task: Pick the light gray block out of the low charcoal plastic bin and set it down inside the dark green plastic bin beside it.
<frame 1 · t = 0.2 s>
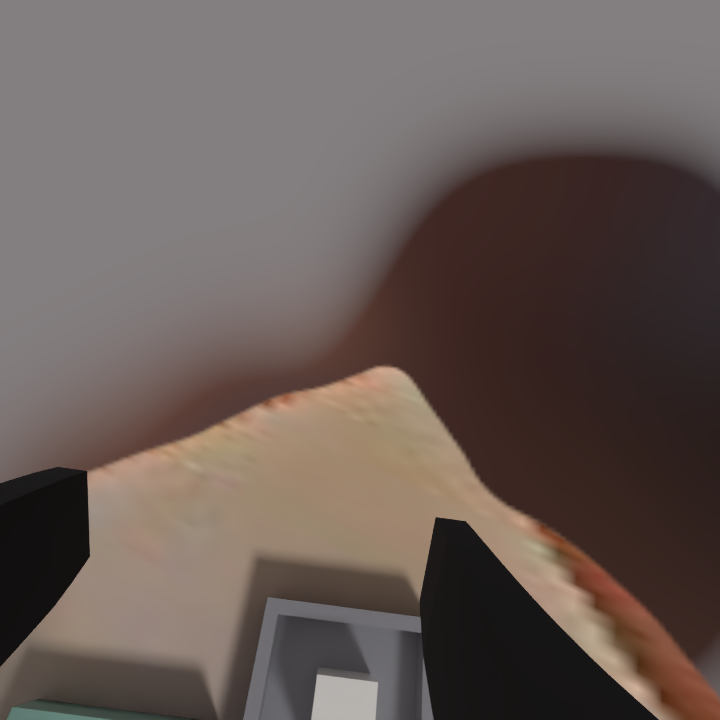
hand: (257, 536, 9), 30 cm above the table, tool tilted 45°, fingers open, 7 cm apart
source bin: (339, 710, 31), on the table
light gray block: (339, 713, 30), point 1 cm above the table, touching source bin
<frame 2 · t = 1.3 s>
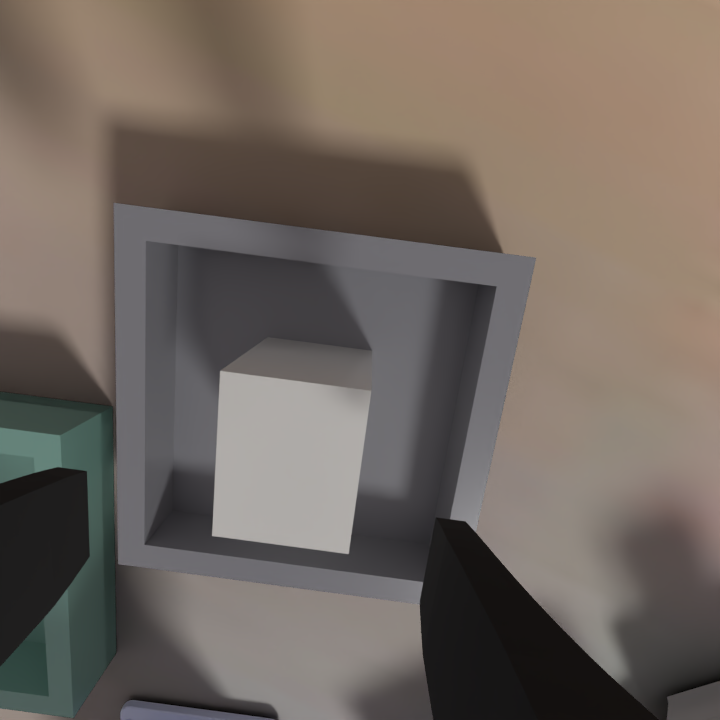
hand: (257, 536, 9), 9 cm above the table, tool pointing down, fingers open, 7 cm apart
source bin: (316, 399, 17), on the table
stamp: (715, 703, 20), on the table
light gray block: (313, 405, 16), point 1 cm above the table, touching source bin
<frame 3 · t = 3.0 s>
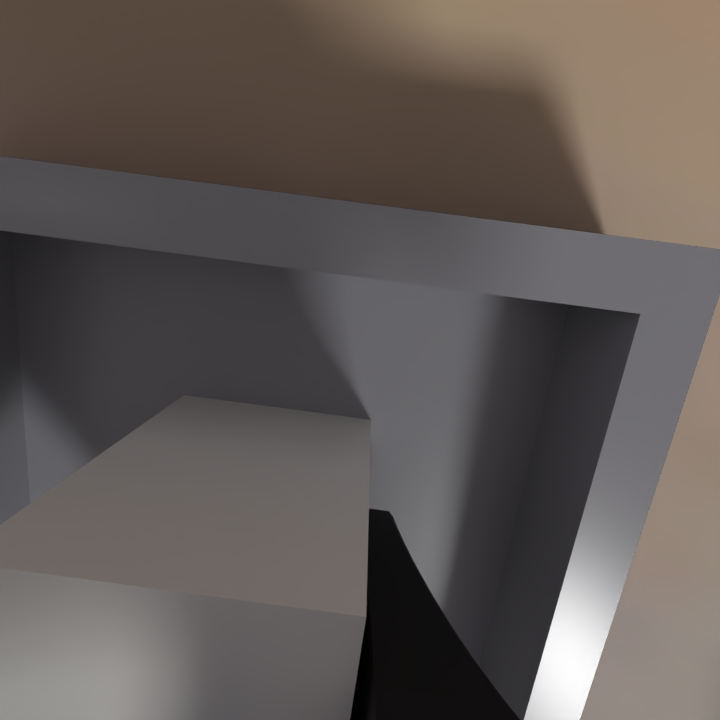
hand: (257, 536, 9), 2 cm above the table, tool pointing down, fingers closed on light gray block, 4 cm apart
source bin: (276, 491, 10), on the table
light gray block: (268, 511, 9), point 1 cm above the table, touching gripper, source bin
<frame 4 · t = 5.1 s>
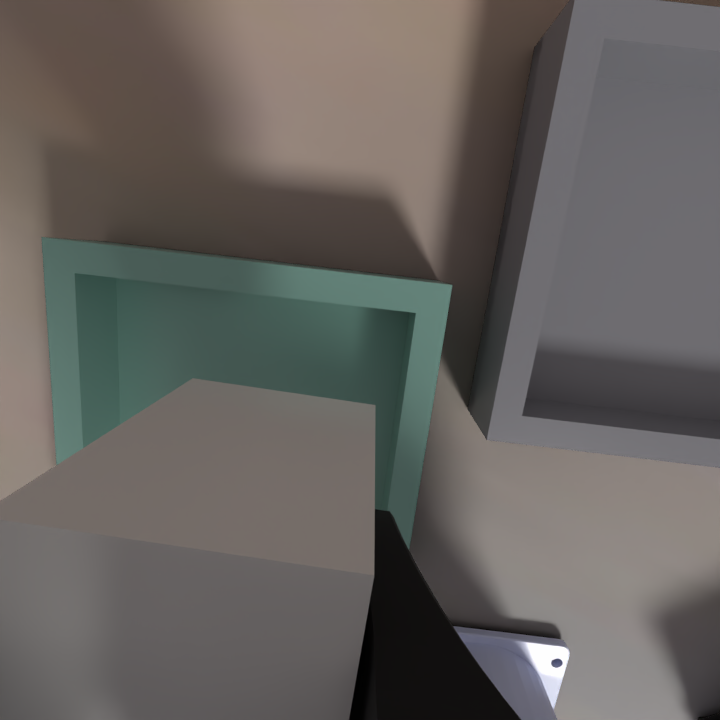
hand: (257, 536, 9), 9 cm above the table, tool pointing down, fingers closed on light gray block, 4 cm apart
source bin: (671, 266, 15), on the table
light gray block: (273, 494, 10), point 8 cm above the table, touching gripper
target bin: (260, 418, 17), on the table
when the fingers open (3 cm above the table, at t = 7.2 s): light gray block drops 1 cm, resting on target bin.
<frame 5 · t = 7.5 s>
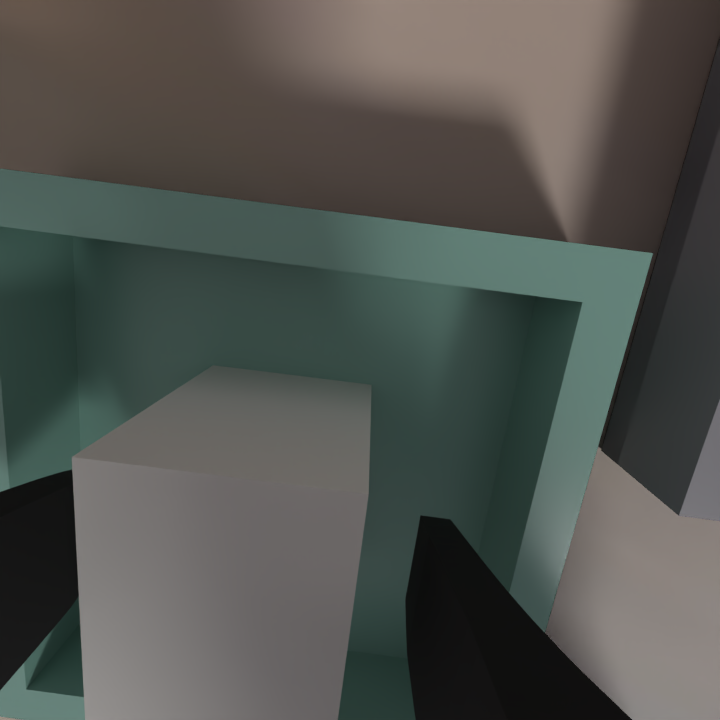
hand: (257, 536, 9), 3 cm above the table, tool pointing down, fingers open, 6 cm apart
light gray block: (284, 465, 11), point 1 cm above the table, touching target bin
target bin: (290, 459, 12), on the table
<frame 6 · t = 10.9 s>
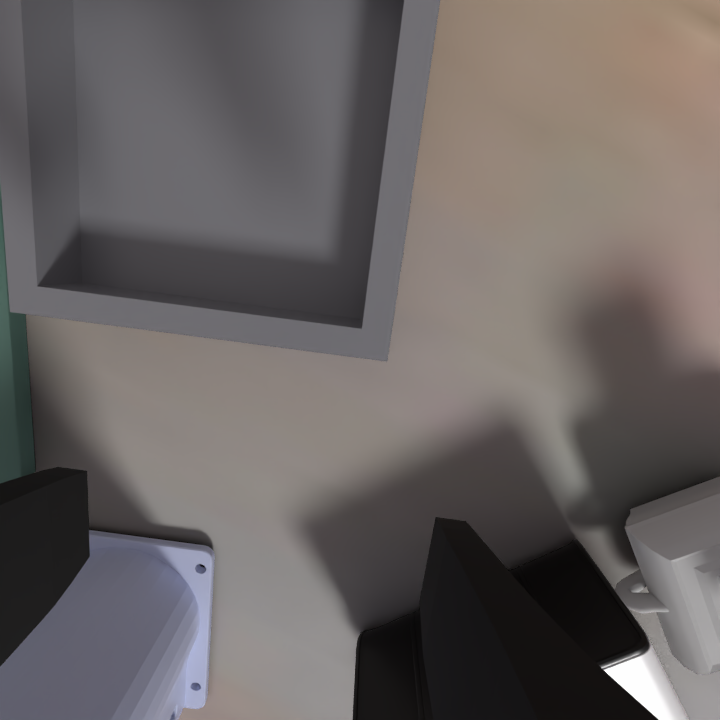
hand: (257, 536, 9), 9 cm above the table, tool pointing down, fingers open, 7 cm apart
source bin: (237, 152, 16), on the table
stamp: (684, 523, 19), on the table
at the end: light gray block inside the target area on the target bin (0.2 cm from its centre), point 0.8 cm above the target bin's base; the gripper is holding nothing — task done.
